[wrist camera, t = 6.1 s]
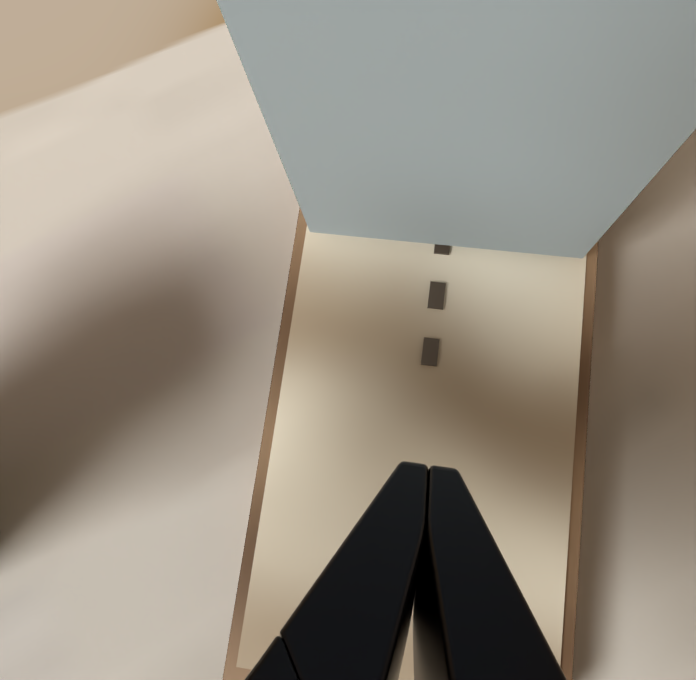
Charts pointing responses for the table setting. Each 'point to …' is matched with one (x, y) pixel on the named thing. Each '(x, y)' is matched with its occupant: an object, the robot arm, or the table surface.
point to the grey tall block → (470, 112)
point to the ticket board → (421, 415)
